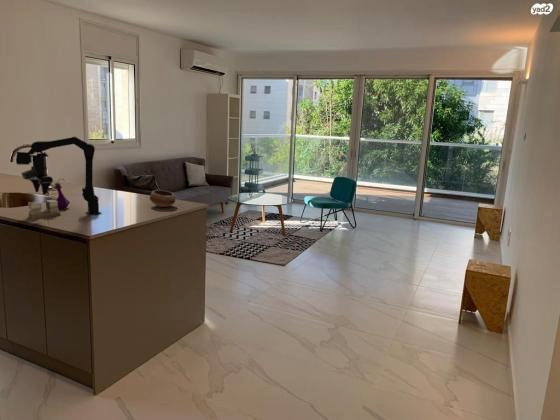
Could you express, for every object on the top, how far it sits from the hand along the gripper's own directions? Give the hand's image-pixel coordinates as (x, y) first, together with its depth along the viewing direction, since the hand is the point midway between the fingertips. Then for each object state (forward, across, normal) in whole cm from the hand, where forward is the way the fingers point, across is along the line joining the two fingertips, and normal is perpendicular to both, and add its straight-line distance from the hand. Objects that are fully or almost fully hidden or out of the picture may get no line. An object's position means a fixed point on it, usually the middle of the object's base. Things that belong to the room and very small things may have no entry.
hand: (40, 193), depth 240 cm
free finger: (+10, +4, +4) cm, 11 cm away
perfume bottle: (+12, -9, +15) cm, 21 cm away
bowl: (+12, +19, +66) cm, 70 cm away
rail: (+12, +4, 0) cm, 13 cm away
